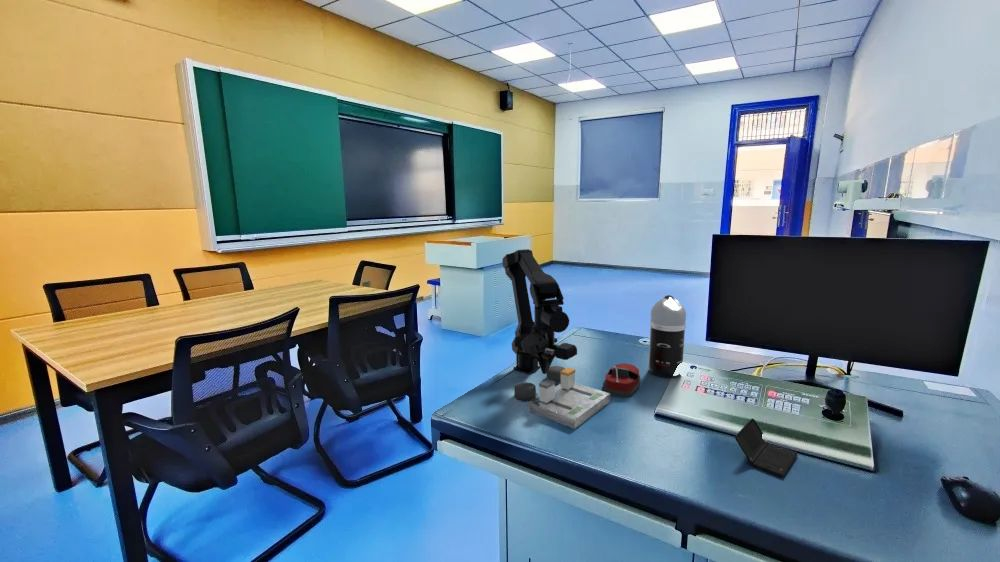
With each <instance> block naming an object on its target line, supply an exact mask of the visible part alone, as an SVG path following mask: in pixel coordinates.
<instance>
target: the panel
mask: <svg viewBox="0 0 1000 562" xmlns="http://www.w3.org/2000/svg"><path fill="white" fill-rule="evenodd" d="M609 403H611V395H610V393H607V392H604V391H603V390H600V389H597V388H593V387H590V386H587V385H584V384H580V383H577V382H575V386H573V387H572V388H570V389H568V390H567V389H564V388H561V383H558V385H555V398H554V399H553V400H551V401H549V402H548V403H545V402H542V401H540V400H539V396H536V398H535V399H534V400H532V401H528V412H530V413H533V414H534V415H535V414H536V415H538V416H540V417H542V418H545V419H548V420H551V421H553V422H555V423H557V424H561V425H563V426H566V427H569V428H571V429H573V430H576V429H577V428H578V427H579V426H581V425H582V424H584V422H586V421H588V420H589V419H590V418H591V417H592V416H594V415H596V413H598V412H599V411H600V410H602V409H603V408H605V406H607V405H608V404H609Z"/></svg>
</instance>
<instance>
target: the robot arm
mask: <svg viewBox="0 0 1000 562" xmlns="http://www.w3.org/2000/svg"><path fill="white" fill-rule="evenodd" d="M502 267H503V268H504V271H505V275H506V276H507V277H508V278H509V280H510V281H511V285H512V292H513V297H514V298H513V299H514V304H515V311H516V315H517V321H518V322H517V326H516V328H515V331H514V336H515V337H514V338H513V341H512V342H511V349H512V352H513V353H514V354H515V359H516V364H515V365H516V366H514V367H513V370H515V371H518V372H521V373H525V374H529V375H530V374H531V373H533V372H535V371H537V370H539V369H540V371H541V373H542V374H543V375H547V372H548V369H549V367H551V366H552V362H553V361H554V359H555V358H556V359H560V360H564V361H567V360H570V359H571V358H573V357H575V356H577V355H578V347H577V346H576V345H575V344H571V343H567V342H563V343H561V344H556V343H558V337H557V338H556V337H555V333H562V332H564V331H566V330H567V328H568V327H569V325H570V318H569V315H568V314H567V313H566V312H565V311H563V307H562V306H563V305H564V299H565V298H564V296H563V293H562V290H561V288H560V285H559V283H558V282H557V280H556V279H555V278H554V277H553V276H552V275H551V274H547V273H546V272H544V270H543V269H542V268H541V266H540V264H539V263H538V261H537V260H536V258H535V256H534V254H533V250H531V249H529V248H528V249H526V248H525V249H517V250H515V251H514V252H511V253H506V254H505V256H503V257H502ZM526 278H527V280H528V282H529V283H530V284H529V291H528V285H527V280H526ZM529 293H530V296H531V299H532V304H534V310H533V311H534V320H533V315H532V314H533V313H532V308H531V301H530V296H529Z"/></svg>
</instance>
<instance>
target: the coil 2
mask: <svg viewBox="0 0 1000 562" xmlns="http://www.w3.org/2000/svg"><path fill="white" fill-rule="evenodd" d="M564 369H566V368H565V367H564V366H560V365H550V367H549V369H548V372H547V373H546V379H550V380H553V381H555V384H561V374H560V371H562V370H564Z"/></svg>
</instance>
